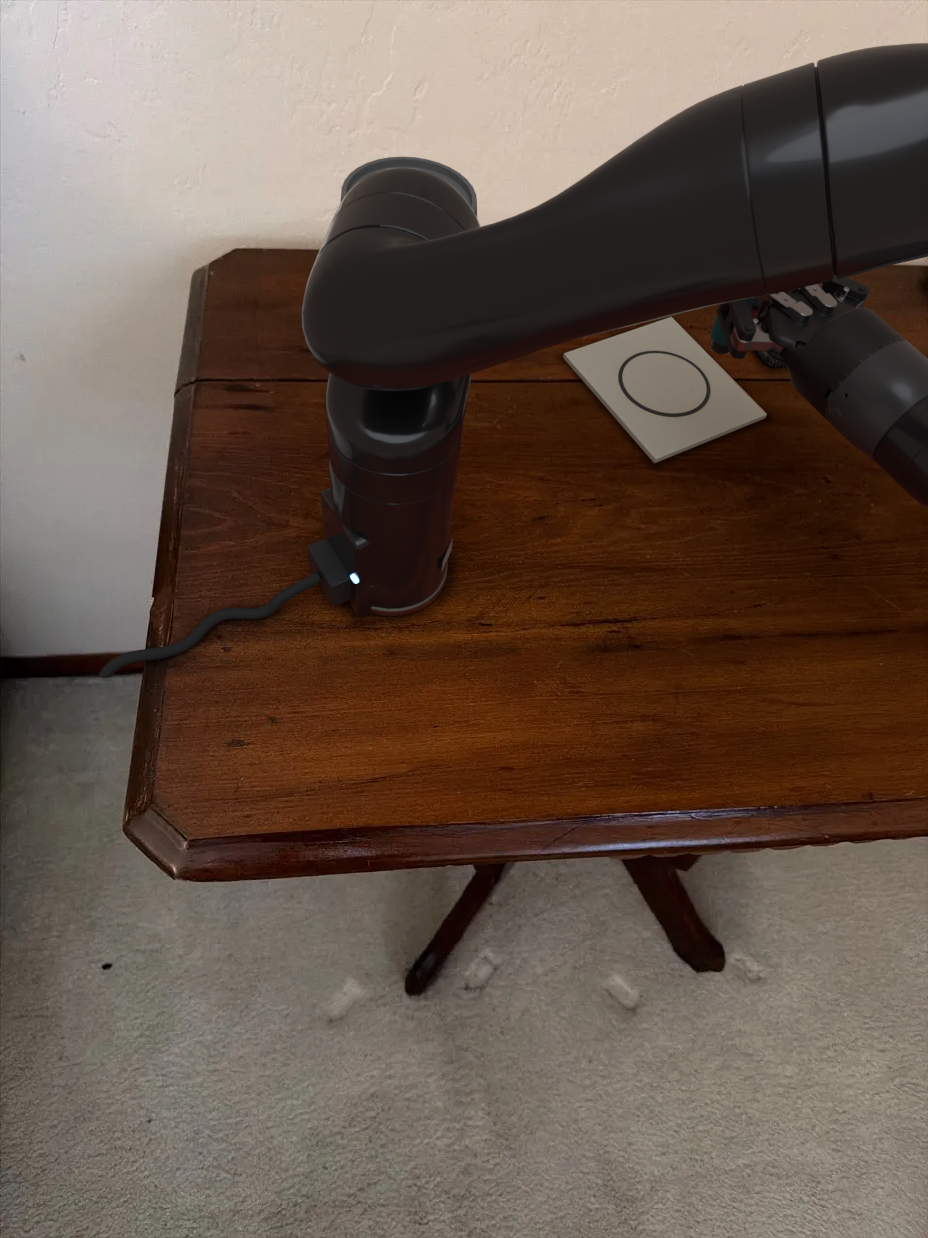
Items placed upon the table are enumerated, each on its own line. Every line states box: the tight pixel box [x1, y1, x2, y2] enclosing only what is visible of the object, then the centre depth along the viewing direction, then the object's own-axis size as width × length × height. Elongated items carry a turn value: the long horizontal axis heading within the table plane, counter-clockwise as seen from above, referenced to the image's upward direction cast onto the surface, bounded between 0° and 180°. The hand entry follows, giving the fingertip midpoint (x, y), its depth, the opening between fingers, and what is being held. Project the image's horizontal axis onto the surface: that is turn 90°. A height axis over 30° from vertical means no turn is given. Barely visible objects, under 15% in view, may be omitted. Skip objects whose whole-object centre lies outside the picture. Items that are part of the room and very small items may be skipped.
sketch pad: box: [562, 316, 768, 464], centre depth 89 cm, size 14×16×1 cm
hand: (727, 253), depth 73 cm, fingers closed on marker, 2 cm apart
